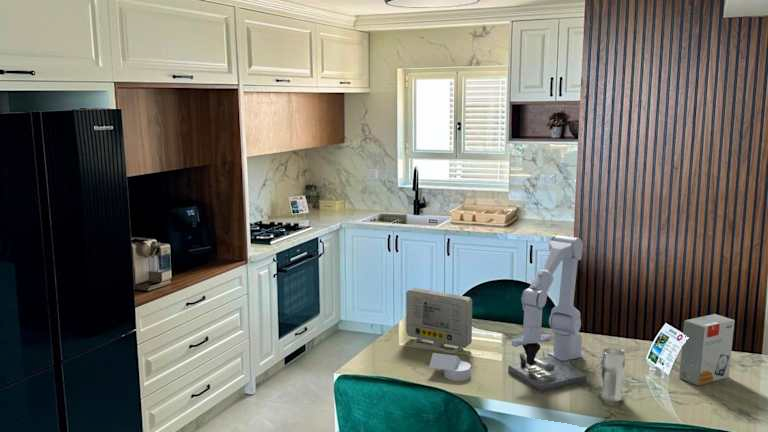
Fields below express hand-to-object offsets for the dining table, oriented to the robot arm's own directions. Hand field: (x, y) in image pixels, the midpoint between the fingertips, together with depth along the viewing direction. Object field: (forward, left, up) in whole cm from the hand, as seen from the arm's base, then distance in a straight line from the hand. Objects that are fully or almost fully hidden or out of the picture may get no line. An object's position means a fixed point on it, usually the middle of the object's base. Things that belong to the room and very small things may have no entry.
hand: (530, 364), depth 221 cm
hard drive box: (-51, +26, -4) cm, 57 cm away
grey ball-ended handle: (-1, +1, 0) cm, 2 cm away
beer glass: (-13, +24, -4) cm, 27 cm away
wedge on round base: (+22, -13, -5) cm, 26 cm away
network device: (+13, -38, -4) cm, 41 cm away
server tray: (-5, +3, -4) cm, 7 cm away
